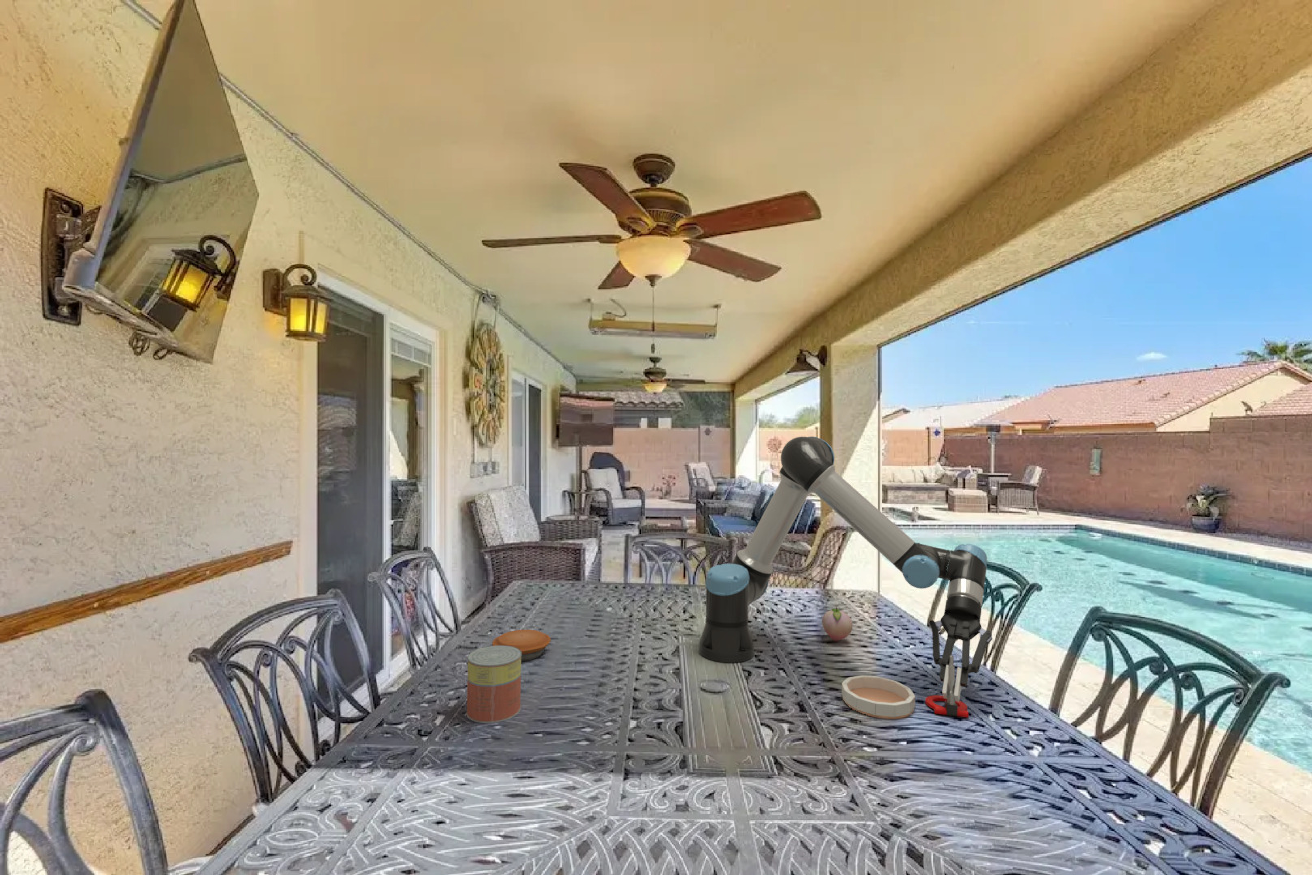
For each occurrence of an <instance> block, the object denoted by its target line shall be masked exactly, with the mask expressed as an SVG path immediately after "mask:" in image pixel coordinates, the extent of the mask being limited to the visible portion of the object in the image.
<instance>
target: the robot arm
mask: <svg viewBox="0 0 1312 875" xmlns="http://www.w3.org/2000/svg"><path fill="white" fill-rule="evenodd" d="M780 453H781V454H780V463H781V468H780V470H779V475H780V478H781V479H780V480H779V481H780V482H779V483H778V486H777V487H776V489H775V491H774V493H773V495H772V497H771V499H770V501H769V503H768V505H767V507H766V508H765V510H764V512H763V514H762V516H761V518H760V519H759V521H758V524H757V526H756V528H755V529H754V532H753V533H752V536H750V539H749V541H748V542H747V545H746V547H745V548H744V549H740V550H738V551H737V553H736V555H735V557H734V558H733V560H732V561H731V563H722V564H716V565H713V566H712V567H710V568H709V569H708V571H707V573H706V580H705V589H706V590H705V625H704V627H703V630H702V633H701V636H700V640H699V642H698V643H699V644H698V652H699V654H700V655H701V656H702V657H704V658H706V659H708V660H712V661H715V662H719V663H741V662H746V661H749V660H751V659H753V657H754V655H755V646H754V645H755V644H754V641H753V639H752V635H751V632H750V629H749V605H750V604H752V603H753V602H755V601H757V600H758V599H760V598H761V597H762V596H763V595H764V594H765V592H766V590H767V589H768V586H769V583H770V582H769V581H770V578H771V576H772V575H773V573H774V568H773V565H772V563H773V561H774V560H775V558H776V555H777V554H778V552H779V550H780V549H781V546H782V545H783V542H784V541H785V539H786V538H787V536H788V533H789V531H790V529H791V527H792V526H793V523H794V522H795V520H796V518H797V516H798V515H799V513H800V511H801V509H802V507H803V506H804V503H805V501H806V499H807V498H808V496H809V494H815V495H816V496H817V497H819V498H820V499H821V500H822V501H823V502H824V503H825V504H826V505H827V506H829V508H831V509H832V510H833V511H834V512H835V513H836V515H838V516H839V517H840V518H842V519H843V520H844V521H845V522H846V523H847V524H848V525H850V527H852V528H853V529H854V531H856V532H857V533H858V534H859V535H860V536H861V537H863V538H864V539H865V540H866V541H867V542H868V543H869V544H870V545H871V546H873V548H874V549H875V550H876V551H878V552H879V553H880V554H881V555H883V557H884V558H886V560H887V561H889V562H890V563H891V564H892V565H893V566H894V567H895V568H896V569H897V570H898V571H900V572H901V573H902V575H903V578H904V580H905V581H906V582H907V584H909V585H910V586H911V587H914V588H916V589H921V590H922V589H928V588H930V587H932V586H933V585H934V584H935V583H936V582H937V581H938V579H942V580H946V581H949V582H948V588H947V592H946V594H947V595H946V601H945V607H944V612H943V615H942V617H941V618H940V620H937V621H934V619H933V620H932V619H931V620H930V621H929V622H928V623H929V627H930V630H931V632H932V633H931V634H932V635H931V636H932V658H933V661H934V664H935V665H938V666H940V669H939V674H938V676H939V678H940V680H939V681H940V682H943V685H942V691H941V692H942V696H943V697H944V698H945V699H947V691H948V665H949V664H950V655H953V650H954V646H955V644H956V641H957V640H960V641H962V648H961V667H958V666H957V669H956V677H955V682H954V698H955V701H957V702H959V701H960V698H961V690H962V687H965V688H966V687H967V686H968V678H969V674H970V673H974V674H978V673H979V671H980V668H981V665H982V662H983V658H984V656H985V652H986V650H987V647H988V645H989V644H990V642H991V641H993V635H992V634H993V633H992V631H991V630H986V629H984V628H983V627H982V624H981V617H982V616H981V615H982V605H983V600H984V599H983V598H984V592H985V591H984V590H985V585H986V584H985V582H986V577H987V569H988V566H987V563H988V562H987V561H988V559H987V556H988V555H987V554H986V552H985V551H984V550H983V549H982V548H981V547H980V546H978V545H975V544H971V543H966V544H964V543H961V544H958V545H957V546H956V547H954V550H951V549H945V548H940V547H936V546H933V545H928V544H923V543H920V542H915V541H914V540H913V538H911V537H910V536H909V535H908V534H907V533H905V532H904V530H902V529H901V528H900V527H898V526H897V525H896V524H895V523H894V522H893V521H892V520H891V519H890V518H889V517H887V516H886V515H885V514H884V513H883V512H881V510H879V509H878V508H877V507H876V506H875V505H874V504H872V503H871V501H869V500H868V499H867V498H866V497H865V496H863V494H861V493H859V491H858V490H857V489H856V488H854V487H853V485H851V484H850V483H849V482H847V481H846V480H845V479H844V478H843V477H842V476H841V475H840V474H839V473H837V472H836V468H835V467H836V466H835V465H834V464H835V453H834V450H833V448H832V446H831V445H830V444H829V443H828V442H826V440H824V439H822V438H820V437H817V436H796V437H794V438H792V439H790V440H789V441H787V442H786V444H785V445H784V447H782V449H781V452H780ZM941 628H943V629H944V631H945V633H947V636H946V641H945V645H944V649H943V653H942V657H941V649H940V648H941V647H940V644H941V643H940V634H939V632H940V631H941V630H942V629H941ZM977 635H979V640H978V643H977V647H976V649H975V652H974V655H973V659H972V661H971V663H970V654H971V653H970V650H971V640H972V639H973V638H975V637H976V636H977Z"/></svg>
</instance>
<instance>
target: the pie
mask: <svg viewBox="0 0 1312 875" xmlns="http://www.w3.org/2000/svg"><path fill="white" fill-rule="evenodd" d="M551 641H552V640H551V637H550V635H549V634H547V633H544V632H542V631H540V630H539V631H538V630H534V629H516V630H512V631H507V632H504V633H502V634H501V635H499V636H497V637H495V638H494V639H493V641H492V642H491V643H492V644H491V646H497V645H504V646H512V647H515V648H518V649H519V650H520V651H521V652H522V655H521V662H526V661H531V660H534V659H537V658H538V657H540V656H541V655H542V654H543V653H544V651H545V649H546V648H547V646H548V645H549V644H550V642H551Z"/></svg>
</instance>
